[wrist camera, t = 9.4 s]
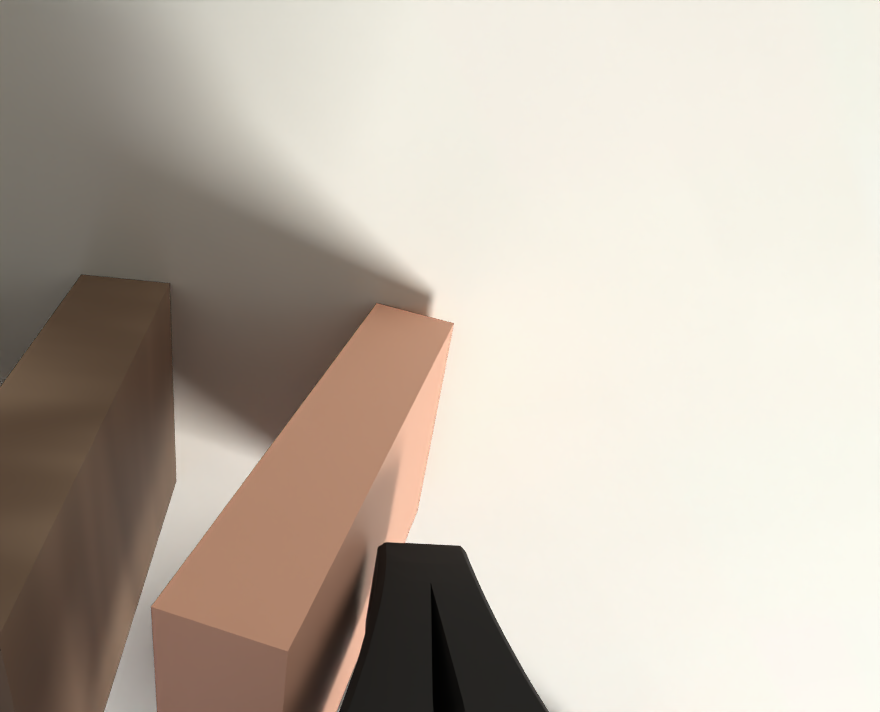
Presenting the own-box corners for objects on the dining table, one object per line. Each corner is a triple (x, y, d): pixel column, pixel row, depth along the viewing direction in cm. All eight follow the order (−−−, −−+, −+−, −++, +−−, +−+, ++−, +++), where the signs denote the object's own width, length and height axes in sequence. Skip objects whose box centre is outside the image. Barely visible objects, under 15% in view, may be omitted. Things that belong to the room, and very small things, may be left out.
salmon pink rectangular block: (454, 322, 15) (287, 650, 8) (417, 510, 17) (268, 879, 11) (376, 303, 15) (150, 606, 8) (351, 491, 18) (164, 841, 11)
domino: (169, 283, 14) (-2, 637, 8) (176, 481, 17) (51, 876, 10) (80, 274, 14) (-177, 632, 7) (101, 477, 17) (-76, 878, 10)
